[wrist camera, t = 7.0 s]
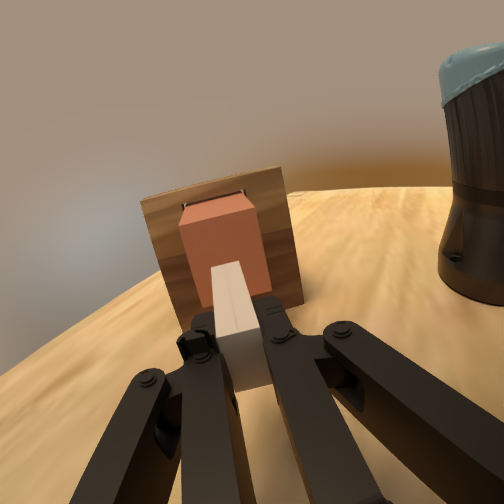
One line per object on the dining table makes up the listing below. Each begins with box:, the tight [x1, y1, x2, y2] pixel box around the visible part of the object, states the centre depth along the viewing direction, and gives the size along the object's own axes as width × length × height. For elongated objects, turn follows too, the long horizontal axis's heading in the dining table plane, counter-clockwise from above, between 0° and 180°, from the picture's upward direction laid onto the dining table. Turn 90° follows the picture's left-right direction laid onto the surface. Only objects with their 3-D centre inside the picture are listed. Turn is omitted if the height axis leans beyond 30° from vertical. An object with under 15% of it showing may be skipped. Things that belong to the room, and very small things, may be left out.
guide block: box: [140, 166, 304, 333], centre depth 34 cm, size 14×12×14 cm
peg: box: [178, 190, 272, 308], centre depth 27 cm, size 14×5×6 cm, turn 9°
